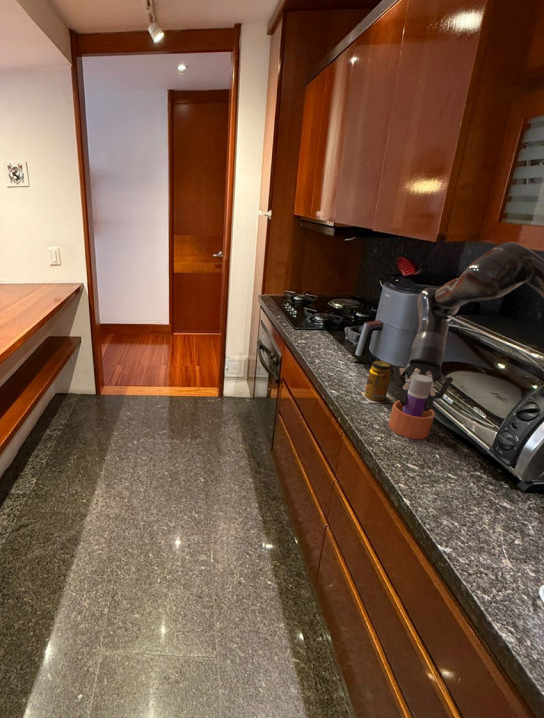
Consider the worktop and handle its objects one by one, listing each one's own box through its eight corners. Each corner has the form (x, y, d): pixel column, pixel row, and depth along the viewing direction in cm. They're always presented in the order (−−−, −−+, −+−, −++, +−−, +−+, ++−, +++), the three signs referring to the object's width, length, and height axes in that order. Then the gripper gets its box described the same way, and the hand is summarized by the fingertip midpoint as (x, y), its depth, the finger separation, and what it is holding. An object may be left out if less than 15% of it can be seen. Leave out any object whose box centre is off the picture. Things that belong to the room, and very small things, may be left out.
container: (420, 432, 105) (435, 383, 99) (401, 429, 106) (414, 380, 100) (416, 423, 109) (430, 375, 103) (397, 420, 110) (410, 373, 104)
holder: (423, 423, 110) (429, 403, 108) (433, 442, 102) (439, 421, 99) (385, 417, 113) (390, 398, 111) (392, 435, 105) (397, 414, 102)
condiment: (359, 392, 128) (366, 358, 123) (386, 393, 127) (394, 359, 122) (368, 403, 121) (376, 368, 116) (396, 404, 120) (405, 369, 116)
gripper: (399, 340, 108) (385, 395, 104) (462, 350, 101) (450, 410, 96) (396, 351, 115) (383, 404, 110) (455, 362, 107) (444, 419, 103)
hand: (414, 407), depth 103 cm, fingers closed on container, 4 cm apart
